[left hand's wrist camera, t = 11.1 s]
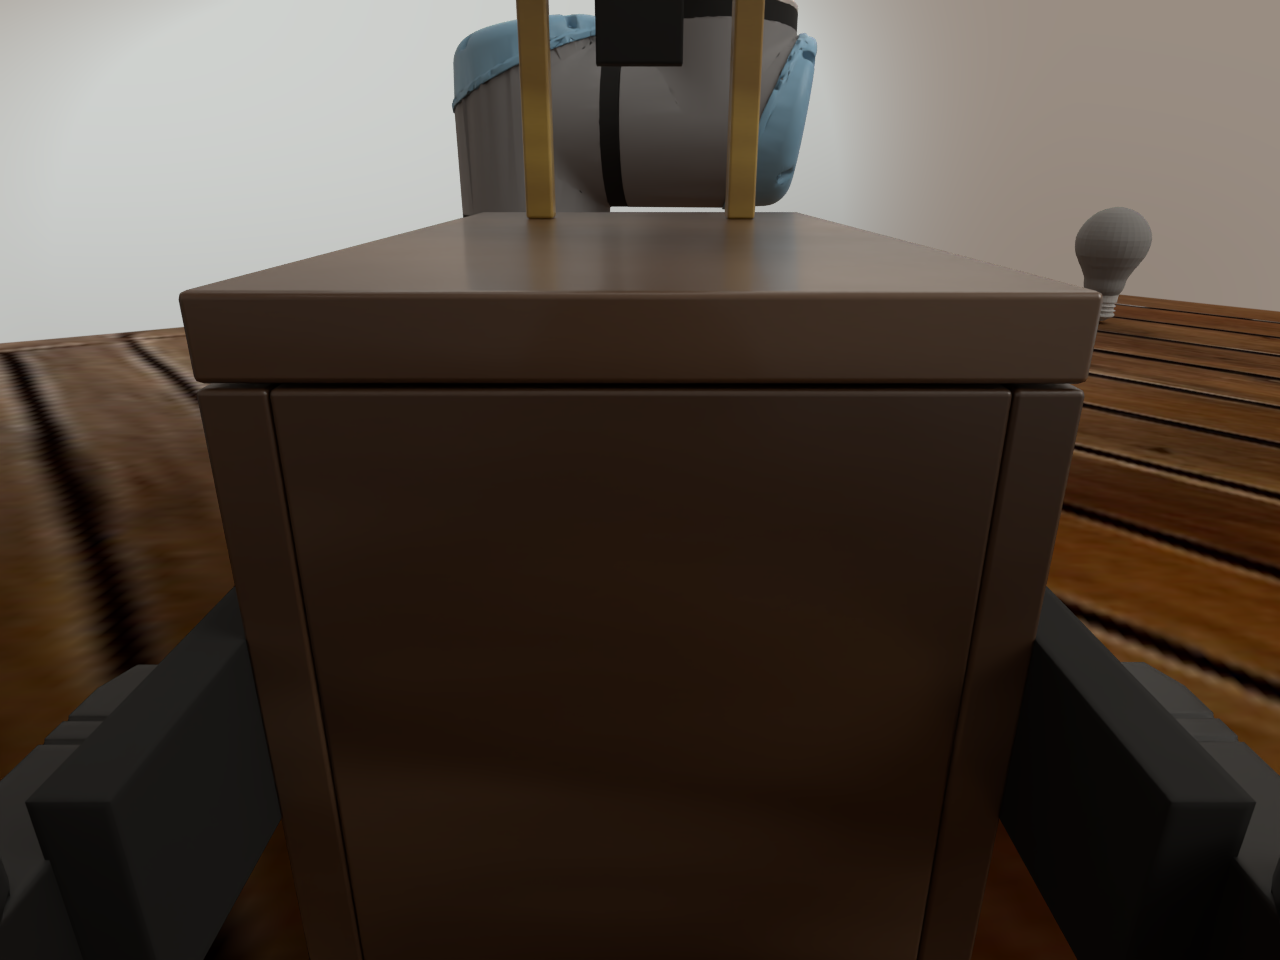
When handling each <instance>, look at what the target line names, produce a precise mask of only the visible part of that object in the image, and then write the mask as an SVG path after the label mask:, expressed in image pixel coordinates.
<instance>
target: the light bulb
mask: <svg viewBox="0 0 1280 960" xmlns="http://www.w3.org/2000/svg"><path fill="white" fill-rule="evenodd" d="M1151 241H1152V234H1151V230H1150V227H1149V225H1148V223H1147V221H1146V220H1145V219H1144V217H1143V216H1142V215H1141V214H1140V213H1138V212H1136V211H1134V210H1131V209H1128V208H1124V207H1114V208H1109V209H1105V210H1103V211H1100V212H1098V213H1096V214H1095V215H1093V216H1092V217H1091V218H1090V219H1088V220H1087V221H1086V222H1085V224H1084V225H1083V226H1082V227H1081V229H1080V230H1079V232H1078V234H1077V237H1076V241H1075V252H1076V256H1077V258H1078V261H1079V264H1080V266H1081V268H1082V272H1083V275H1084V288H1087V289H1091V290H1094V291H1097V292H1099V293H1101V294H1102V296H1103V304H1102V309H1101V313H1100V318H1099V321H1103V320H1106V319H1108V318H1111V317H1113V316H1114V314H1113V311H1115V310H1113V308H1114V307H1116V306H1114V303H1116V302H1117V299H1118V296H1119V294H1120V293H1121V291H1122V290H1123V288H1124V286H1125V283H1126V280H1127V279H1128V277H1129V276H1130V275H1131V273H1132V272H1133V271H1134V269H1135V268H1136V267H1137V266H1138V265H1139V264H1140V262H1141V261H1142V260H1143V259H1144V258H1145V256H1146V255H1147V253H1148V251H1149V248H1150V245H1151Z"/></svg>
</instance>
